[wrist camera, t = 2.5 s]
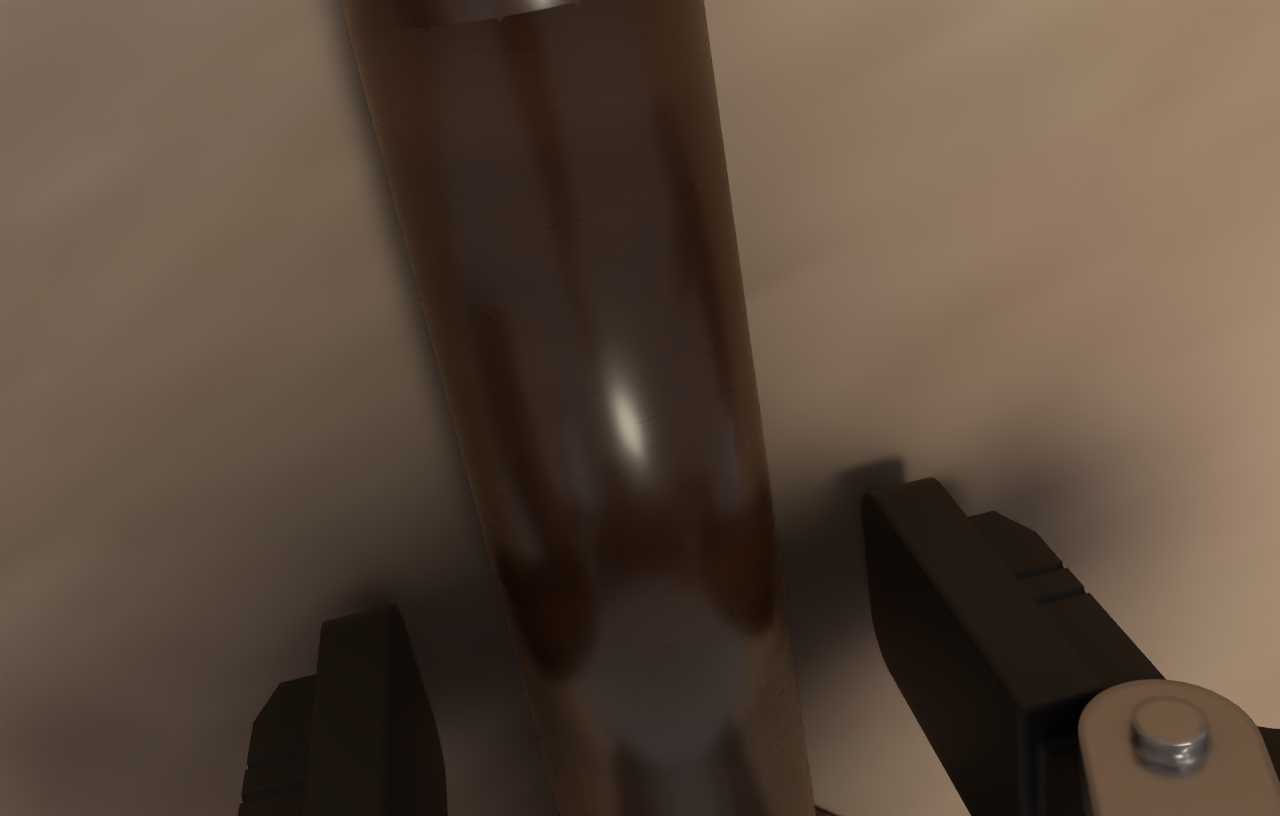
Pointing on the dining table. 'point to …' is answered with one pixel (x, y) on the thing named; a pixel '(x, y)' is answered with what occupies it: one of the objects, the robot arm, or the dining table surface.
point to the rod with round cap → (599, 384)
